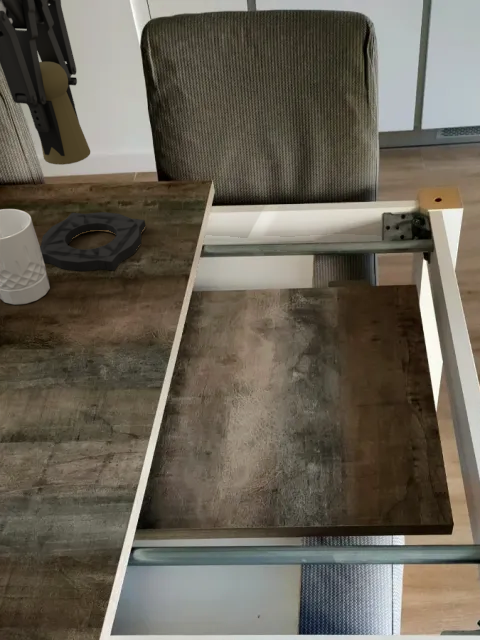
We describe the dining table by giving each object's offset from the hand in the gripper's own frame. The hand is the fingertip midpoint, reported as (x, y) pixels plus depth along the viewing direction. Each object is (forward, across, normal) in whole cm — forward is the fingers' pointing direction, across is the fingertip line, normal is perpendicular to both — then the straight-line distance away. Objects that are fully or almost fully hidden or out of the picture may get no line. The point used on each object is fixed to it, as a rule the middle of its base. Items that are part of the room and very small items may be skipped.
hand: (64, 146), depth 86 cm
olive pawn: (+1, 0, 0) cm, 1 cm away
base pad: (+15, +1, 0) cm, 15 cm away
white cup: (+15, -12, +4) cm, 20 cm away
